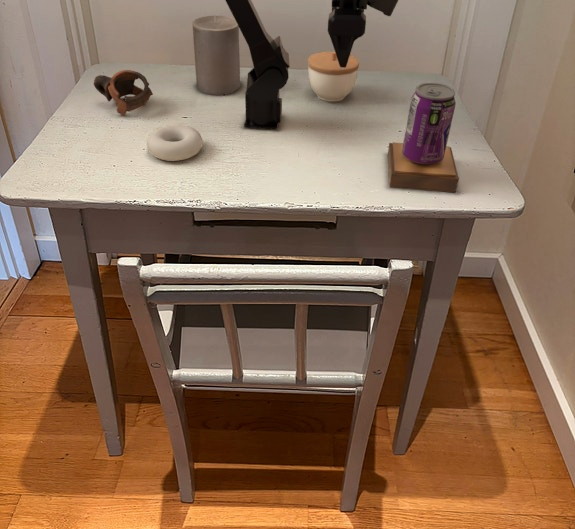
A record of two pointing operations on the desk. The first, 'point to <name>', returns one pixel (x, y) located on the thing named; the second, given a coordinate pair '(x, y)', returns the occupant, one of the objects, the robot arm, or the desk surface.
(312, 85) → the trinket box
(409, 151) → the beverage can
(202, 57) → the pillar candle
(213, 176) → the desk surface
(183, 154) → the donut
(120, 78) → the pottery mug
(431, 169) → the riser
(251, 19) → the robot arm
